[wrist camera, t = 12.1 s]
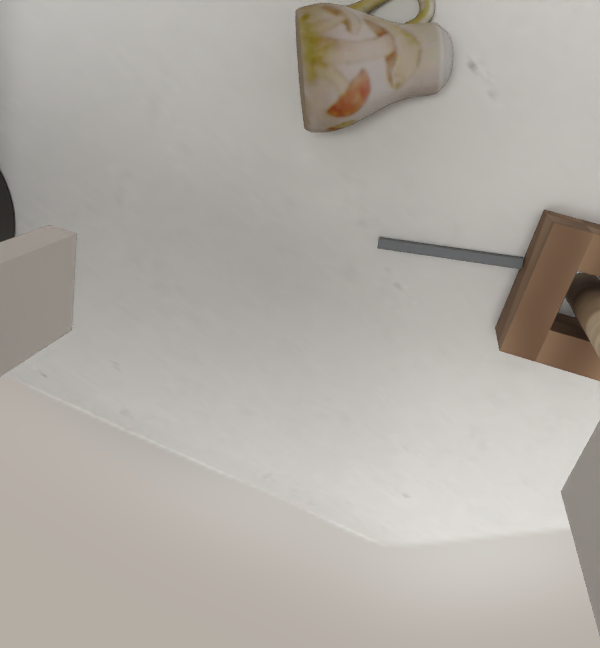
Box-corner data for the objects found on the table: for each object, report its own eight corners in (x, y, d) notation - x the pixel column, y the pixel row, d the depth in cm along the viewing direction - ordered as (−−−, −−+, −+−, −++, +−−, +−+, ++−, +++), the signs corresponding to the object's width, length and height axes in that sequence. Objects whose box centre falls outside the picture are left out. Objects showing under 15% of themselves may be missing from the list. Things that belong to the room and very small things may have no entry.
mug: (466, 112, 37) (381, 162, 31) (346, 96, 43) (254, 137, 37) (478, -21, 33) (381, 9, 27) (342, -20, 38) (237, 5, 32)
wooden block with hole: (495, 327, 42) (499, 350, 38) (544, 209, 38) (553, 222, 34) (620, 365, 41) (636, 392, 37) (683, 247, 37) (708, 264, 33)
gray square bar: (378, 246, 42) (377, 248, 41) (379, 237, 41) (378, 238, 41) (520, 267, 40) (521, 269, 39) (522, 257, 39) (523, 259, 39)
